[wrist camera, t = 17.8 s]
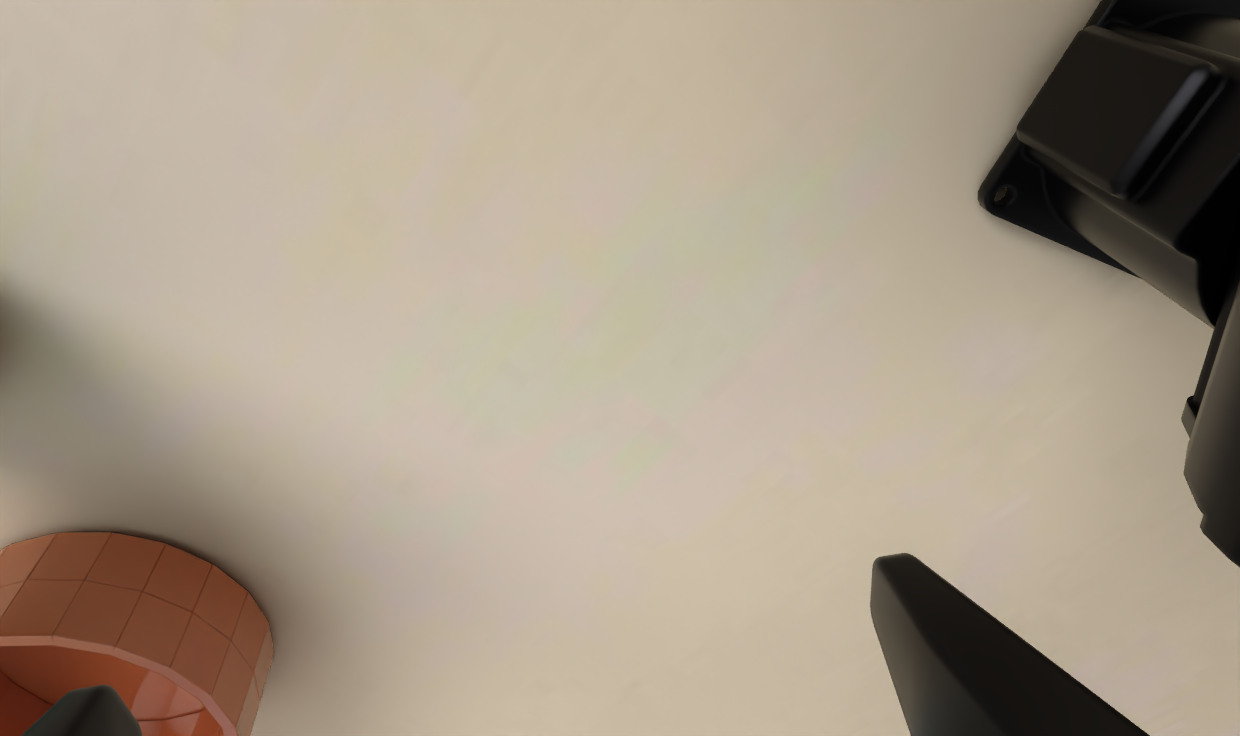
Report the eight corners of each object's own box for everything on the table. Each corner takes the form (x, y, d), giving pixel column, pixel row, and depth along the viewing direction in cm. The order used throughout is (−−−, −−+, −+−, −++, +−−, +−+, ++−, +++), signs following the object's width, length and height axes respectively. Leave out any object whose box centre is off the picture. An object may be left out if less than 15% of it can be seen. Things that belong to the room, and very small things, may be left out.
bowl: (302, 566, 26) (270, 673, 23) (245, 744, 30) (211, 857, 27) (-36, 494, 23) (-129, 604, 20) (-48, 700, 28) (-126, 819, 24)
